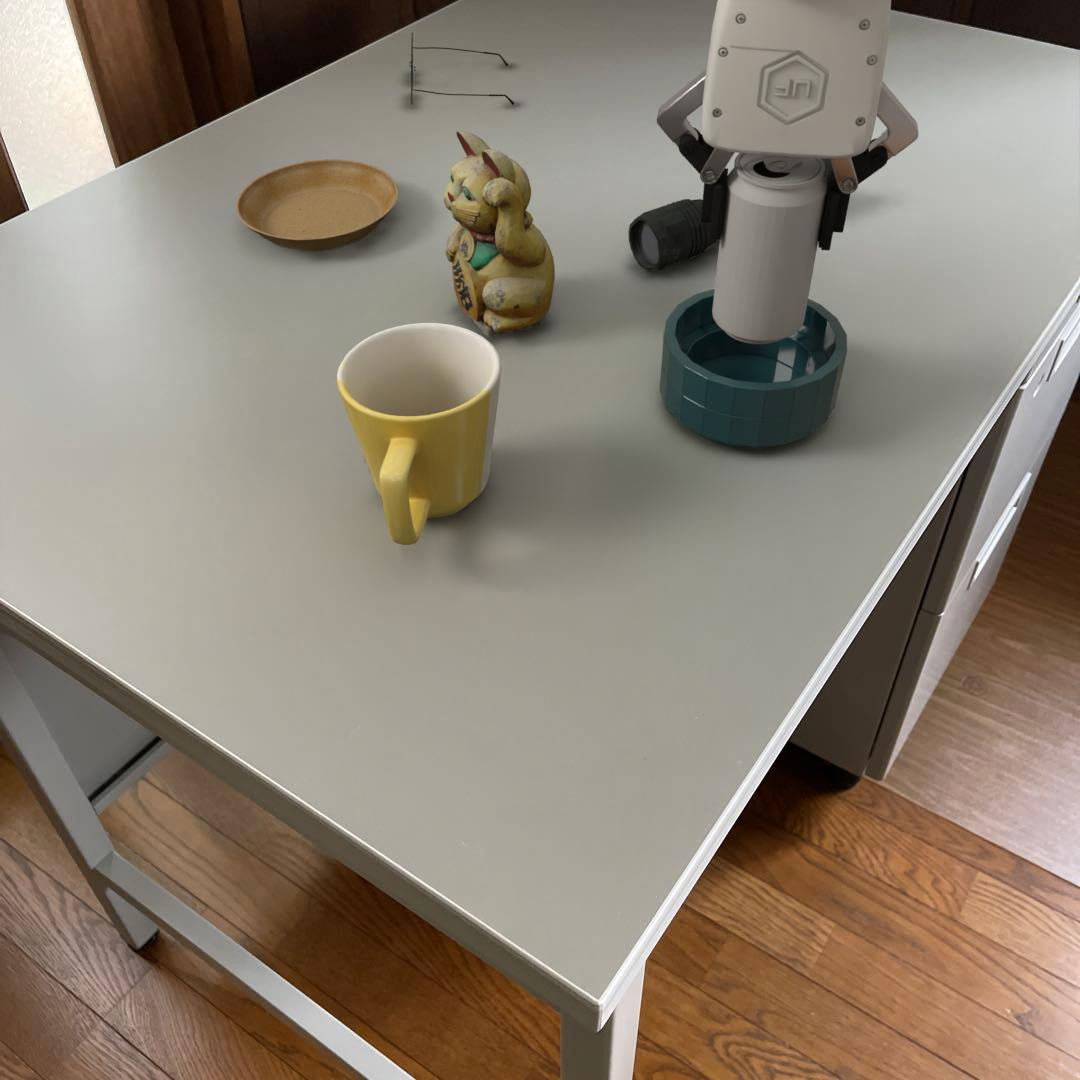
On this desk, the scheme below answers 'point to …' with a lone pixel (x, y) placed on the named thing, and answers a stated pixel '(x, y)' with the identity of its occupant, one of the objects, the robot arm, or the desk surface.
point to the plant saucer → (317, 203)
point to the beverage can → (768, 245)
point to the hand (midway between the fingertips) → (769, 233)
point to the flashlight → (674, 233)
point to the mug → (423, 418)
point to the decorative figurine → (496, 242)
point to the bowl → (750, 376)
